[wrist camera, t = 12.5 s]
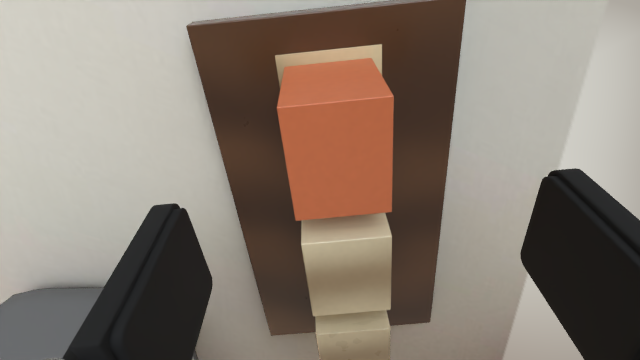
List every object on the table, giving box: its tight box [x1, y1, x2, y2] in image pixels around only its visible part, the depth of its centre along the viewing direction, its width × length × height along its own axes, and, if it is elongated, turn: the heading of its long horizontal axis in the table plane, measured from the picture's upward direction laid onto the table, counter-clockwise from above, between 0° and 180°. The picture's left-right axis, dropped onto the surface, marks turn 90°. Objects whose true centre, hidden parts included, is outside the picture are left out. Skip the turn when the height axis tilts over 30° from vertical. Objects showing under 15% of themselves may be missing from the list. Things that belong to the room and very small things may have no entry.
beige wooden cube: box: [315, 310, 390, 360], centre depth 23 cm, size 5×4×5 cm
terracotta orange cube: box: [277, 58, 394, 221], centre depth 16 cm, size 5×4×5 cm
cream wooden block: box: [301, 213, 392, 316], centre depth 19 cm, size 5×4×5 cm
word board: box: [187, 0, 466, 336], centre depth 22 cm, size 22×12×1 cm, turn 5°
